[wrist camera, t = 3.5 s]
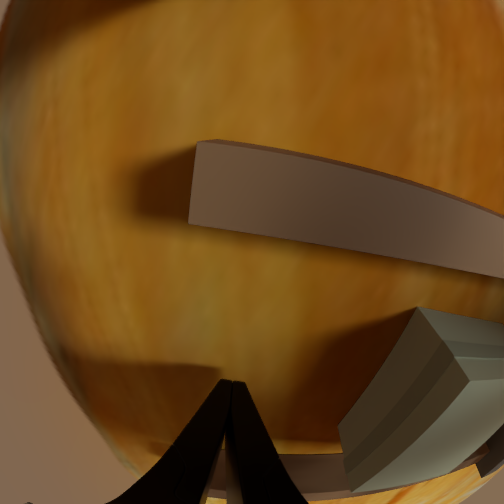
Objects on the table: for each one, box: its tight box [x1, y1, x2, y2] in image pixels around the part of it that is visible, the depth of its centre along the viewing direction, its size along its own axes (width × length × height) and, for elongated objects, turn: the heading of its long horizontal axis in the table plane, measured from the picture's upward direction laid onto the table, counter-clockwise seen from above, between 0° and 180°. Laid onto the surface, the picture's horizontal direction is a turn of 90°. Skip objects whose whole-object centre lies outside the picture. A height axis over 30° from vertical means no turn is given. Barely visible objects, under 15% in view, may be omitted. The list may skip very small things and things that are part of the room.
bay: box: [188, 139, 504, 501], centre depth 9 cm, size 22×16×4 cm
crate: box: [338, 306, 504, 493], centre depth 9 cm, size 6×7×4 cm
